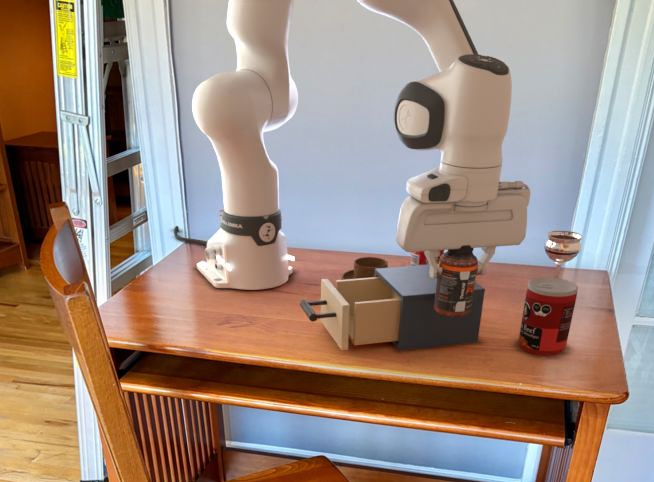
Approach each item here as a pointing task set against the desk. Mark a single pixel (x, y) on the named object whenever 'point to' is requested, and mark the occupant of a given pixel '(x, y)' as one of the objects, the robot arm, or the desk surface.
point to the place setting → (367, 267)
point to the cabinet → (428, 310)
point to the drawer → (357, 311)
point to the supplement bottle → (456, 282)
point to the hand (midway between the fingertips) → (456, 275)
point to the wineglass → (562, 247)
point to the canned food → (547, 315)
